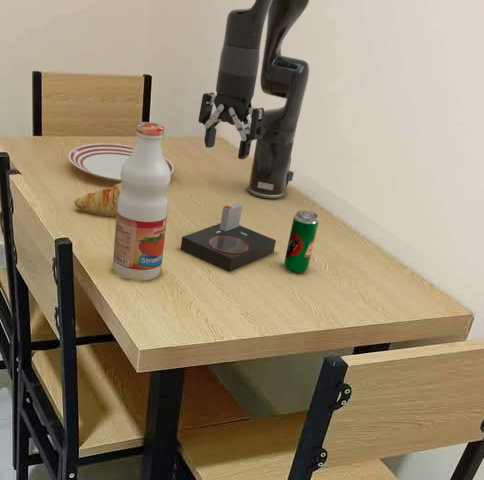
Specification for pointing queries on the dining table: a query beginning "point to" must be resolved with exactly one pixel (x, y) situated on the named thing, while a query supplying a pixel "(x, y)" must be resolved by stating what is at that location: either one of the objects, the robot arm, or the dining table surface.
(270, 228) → the dining table surface
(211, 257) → the cooker
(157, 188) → the strawberry milk bottle
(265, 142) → the robot arm
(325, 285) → the dining table surface
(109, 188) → the croissant
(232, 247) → the hot plate ring
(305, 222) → the soda can
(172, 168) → the dinner plate
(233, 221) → the cooker dial
